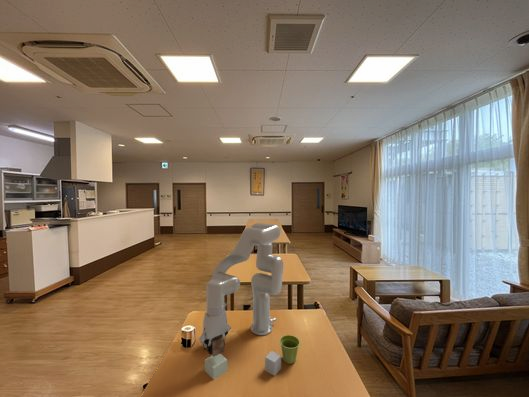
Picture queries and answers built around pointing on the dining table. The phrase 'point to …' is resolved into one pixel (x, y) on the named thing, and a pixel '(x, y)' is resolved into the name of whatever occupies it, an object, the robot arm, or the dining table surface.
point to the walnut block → (217, 345)
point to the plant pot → (289, 348)
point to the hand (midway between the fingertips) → (215, 349)
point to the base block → (216, 365)
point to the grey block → (273, 363)
